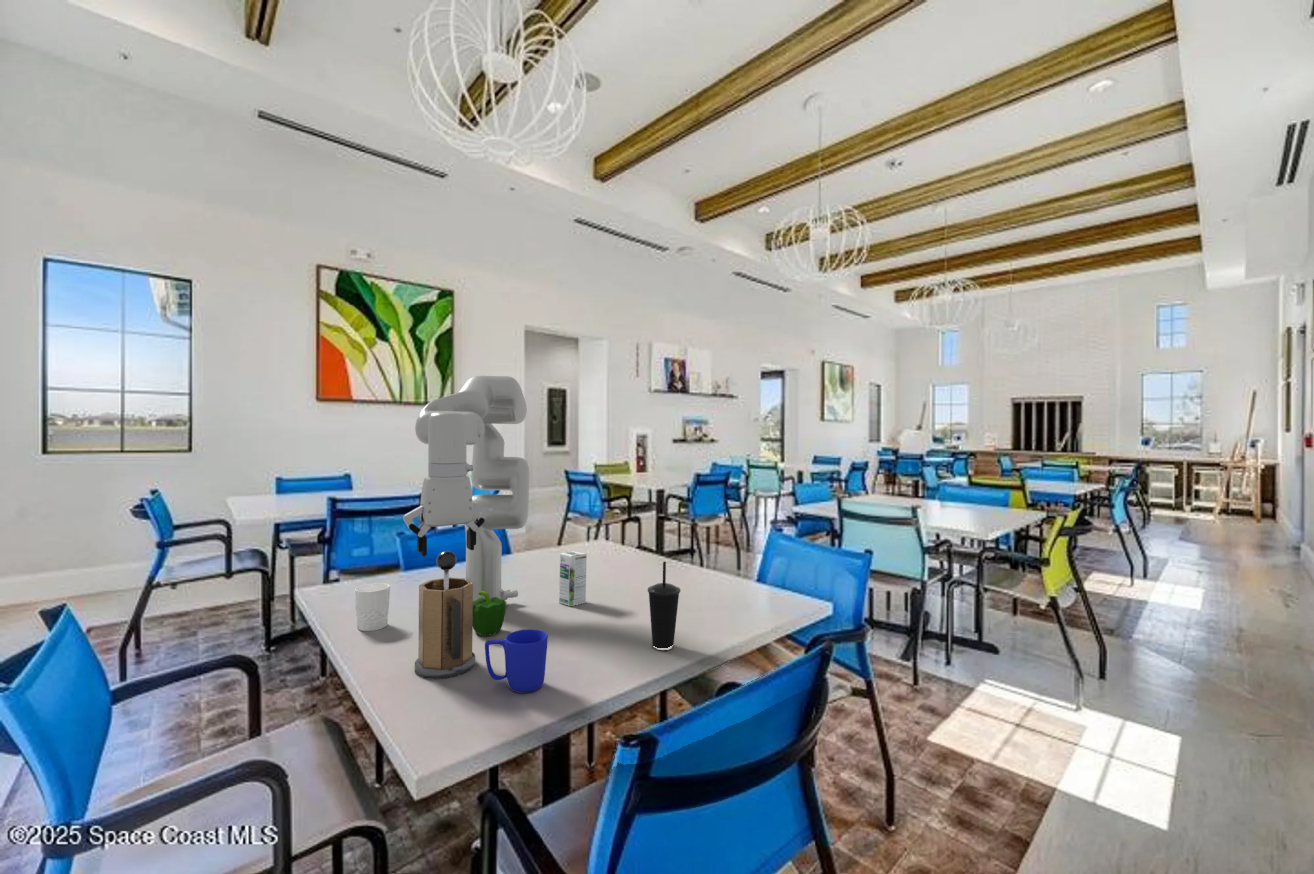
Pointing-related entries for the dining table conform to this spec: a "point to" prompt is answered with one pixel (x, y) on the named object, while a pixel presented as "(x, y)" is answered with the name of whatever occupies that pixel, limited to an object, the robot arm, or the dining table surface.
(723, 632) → the dining table surface
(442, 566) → the plunger
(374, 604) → the white cup
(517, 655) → the mug
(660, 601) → the drinking cup
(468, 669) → the tan octagonal hollow container
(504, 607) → the bell pepper
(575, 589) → the syrup box
